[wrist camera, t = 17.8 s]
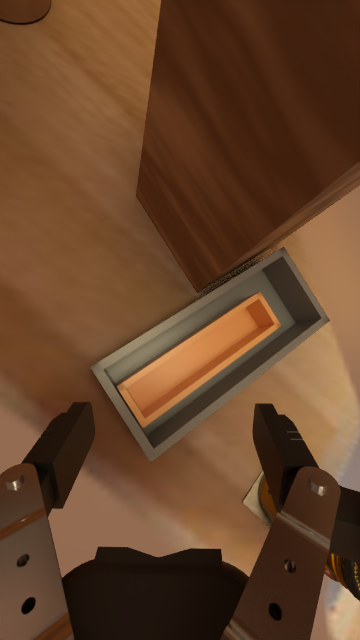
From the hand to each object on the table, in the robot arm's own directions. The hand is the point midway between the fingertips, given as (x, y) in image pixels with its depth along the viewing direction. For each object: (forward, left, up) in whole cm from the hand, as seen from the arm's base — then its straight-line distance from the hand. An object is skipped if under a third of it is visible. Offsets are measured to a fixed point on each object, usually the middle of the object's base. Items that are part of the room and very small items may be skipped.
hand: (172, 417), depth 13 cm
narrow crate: (+5, +5, -16) cm, 17 cm away
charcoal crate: (+6, +7, -16) cm, 19 cm away
